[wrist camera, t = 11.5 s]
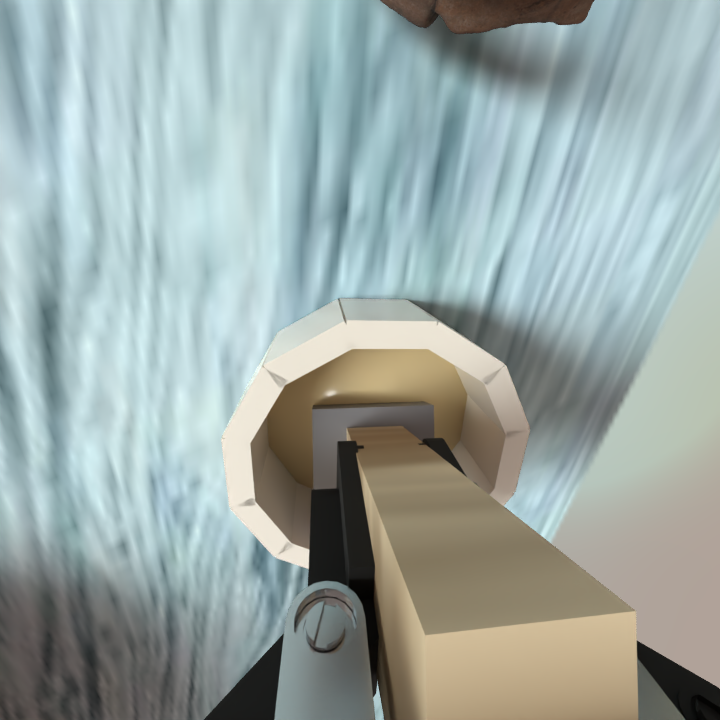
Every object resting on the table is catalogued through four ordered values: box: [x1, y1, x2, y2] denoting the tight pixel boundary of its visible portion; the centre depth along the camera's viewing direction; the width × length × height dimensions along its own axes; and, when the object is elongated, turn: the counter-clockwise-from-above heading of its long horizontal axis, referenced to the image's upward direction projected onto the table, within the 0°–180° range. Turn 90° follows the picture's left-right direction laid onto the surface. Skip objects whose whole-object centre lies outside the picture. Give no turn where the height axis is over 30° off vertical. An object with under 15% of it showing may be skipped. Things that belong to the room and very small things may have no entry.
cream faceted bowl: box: [221, 298, 530, 569], centre depth 12 cm, size 10×10×4 cm
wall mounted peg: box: [312, 401, 638, 720], centre depth 8 cm, size 4×4×10 cm
